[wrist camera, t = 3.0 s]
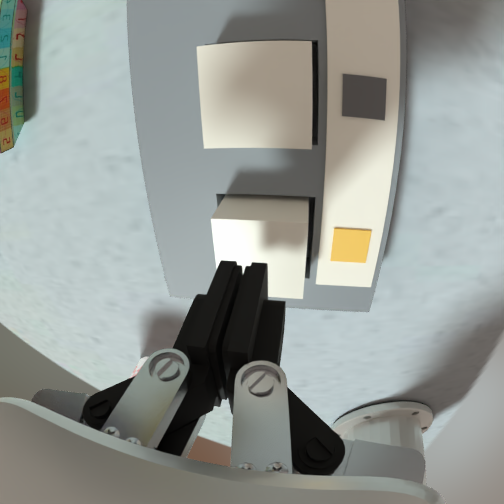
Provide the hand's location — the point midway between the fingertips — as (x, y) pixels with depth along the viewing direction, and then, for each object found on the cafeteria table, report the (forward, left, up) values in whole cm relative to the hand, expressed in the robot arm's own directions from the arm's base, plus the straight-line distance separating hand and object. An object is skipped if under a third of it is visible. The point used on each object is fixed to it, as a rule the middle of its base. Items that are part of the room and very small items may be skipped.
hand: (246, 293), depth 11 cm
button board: (+5, -4, -7) cm, 10 cm away
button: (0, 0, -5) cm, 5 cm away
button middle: (+5, -4, -5) cm, 9 cm away
